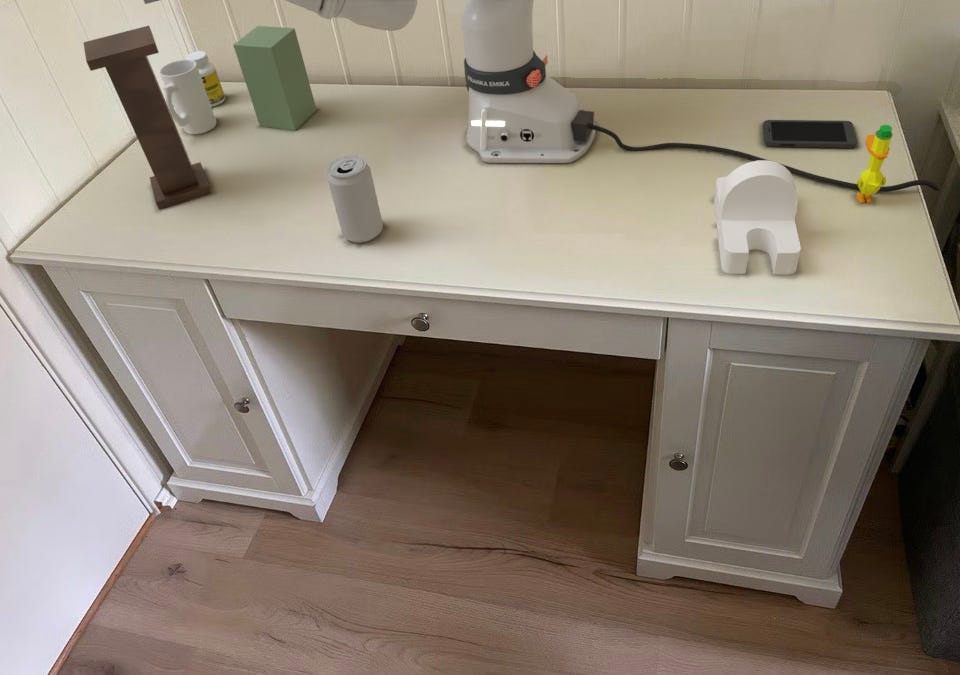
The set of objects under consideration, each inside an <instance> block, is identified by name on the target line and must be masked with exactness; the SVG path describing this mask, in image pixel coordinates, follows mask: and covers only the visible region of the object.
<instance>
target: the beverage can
mask: <svg viewBox="0 0 960 675" xmlns="http://www.w3.org/2000/svg"><path fill="white" fill-rule="evenodd" d="M326 179H327V183H328V187H329V190H330V194H331V198H332V202H333V205H334V208H335V213H336V216H337V220H338V224H339V226H340V230H341V234H342V236H343V237H344V238H345V239H346V240H347V241H350V242H353V243H358V244H361V243H367V242H370V241H372V240H374V239H375V238H376V237H378V236H379V235H380V233H381V232H383V228H384V222H383V219H382V218H383V217H382V214H381V209H380V205H379V201H378V197H377V191H376V188H375V183H374V178H373V173H372V170H371V167H370V166H369V164H368V163H367V160H366V159H365V158H363V157H362V156H359V155H345V156H341V157H338V158H336V159H334V160H332V162H330V163H329V164H328V166H327V175H326Z"/></svg>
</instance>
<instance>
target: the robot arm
mask: <svg viewBox="0 0 960 675" xmlns="http://www.w3.org/2000/svg"><path fill="white" fill-rule="evenodd" d="M534 1H535V0H467V1H466V3H465V5H464V6H463V8H462V12H461V30H462V37H463V38H462V39H463V47H464V54H465V58H464V60H463V67H464V68H463V69H464V80H465V86H466V89H467V92H468V120H467V121H468V123H467V130H466V134H465V140H466V143H467V145H468V147H470V148H471V149H472V150H474V151H475V152H477V153H478V154H479V156H480V158H481V160H482V162H484V163H487V164H488V163H490V164H570V163H572V162H575V161H577V160H579V159H580V158H581V157H582V156H584V154H586V152H588V150H589V149H590V147H591V146H592V144H593V142H594V140H595V137H596V133H597V132H598V133H603V134H605V135H607V136H609V137H611V138H612V139H614V141H615V143H616V144H617V146H618V147H619V148H620V149H622V150H625V151H628V152H646V151H647V152H648V151H655V150H656V151H657V150H661V149H671V148H672V149H673V148H674V149H692V150H702V151H708V152H715V153H720V154H726V155H730V156H735V157H739V158H741V159H746V160H748V161H751V162H753V161H758V160H768V161H770V160H769V159H766V158H763V157H759V156H756V155H752V154H750V153H746V152H743V151H739V150H735V149H730V148H725V147H721V146H720V147H719V146H715V145H707V144H701V143H700V144H699V143H689V142H688V143H687V142H664V143H657V144H652V145H646V146H630V145H627V144H625V143H623V142H622V139H621V138H620V137H619V136H618V135H617V134H616V133H615V132H614V131H612V130H610V129H607V128H605V127H602V126H599V125H596V124H595V111H591V110H583V109H582V108H581V104H580V101H579V98H578V97H577V95H575V94H574V93H573V92H572V91H570V90H568V89H567V88H566V87H564V86H562V85H561V84H560V83H558V82H557V81H555V79H553V78H551V77H550V76H549V75H548V74H547V73H546V72H547V71H546V70H547V69H546V66H547V65H548V55H545V56H544V58H543V59H541V58H540V57H539V56H538V55H537V53H536V51H535V50H534V38H533V37H534V36H533V35H534V34H533V33H534V32H533V10H534V9H533V8H534ZM285 2H288V3H291V4H293V5H295V6H298V7H300V8H303V9H305V10H307V11H310V12H313V13H315V14H316V15H318V16H319V18H322V19H327V20H332V19H333V18H336V19H341V18H343V19H347V20H350V21H351V22H352V23H354V24H356V25H359V26H362V27H367V28H370V29H374V30H375V29H376V30H381V31H388V32H393V31H400V30H402V29H404V28H405V27H406V26H407V25H408V24H409V23H410V21H411V20H412V19H413V16H414V15H415V12H416V9H417V6H418V0H285ZM780 164H781V165H783V166H784V167H786V168H787V169H788V170H789V171H790V173H791V174H793V175H797V176H799V177H802V178H806V179H809V180H812V181H816V182H821V183H825V184H828V185H832V186H837V187H842V188H845V189H846V188H847V189H852V190H857V191H860V189H859V187H858V184H857V183H853V182H850V181H849V182H848V181H843V180H839V179H834V178H830V177H825V176H821V175H817V174H813V173H811V172H807V171H805V170H801V169H797V168H795V167H792V166H789V165H786V164H783V163H780ZM916 186H926V187H929V188H931V189H932V190H933V191H937V192H939V191H941V190H942V189H941V188H940V186H939V185H938V184H937V183H935V182H933V181H931V180H928V179H915V180H910V181H906V182H902V183H899V184H894V185H887V186H886V185H884V186H883V185H881V187H880V190H878V191H877V192H876V193H889V192H897V191H899V190H904V189H907V188H911V187H916Z"/></svg>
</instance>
